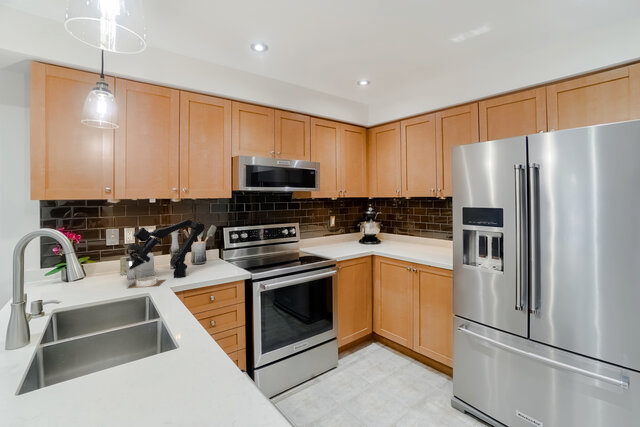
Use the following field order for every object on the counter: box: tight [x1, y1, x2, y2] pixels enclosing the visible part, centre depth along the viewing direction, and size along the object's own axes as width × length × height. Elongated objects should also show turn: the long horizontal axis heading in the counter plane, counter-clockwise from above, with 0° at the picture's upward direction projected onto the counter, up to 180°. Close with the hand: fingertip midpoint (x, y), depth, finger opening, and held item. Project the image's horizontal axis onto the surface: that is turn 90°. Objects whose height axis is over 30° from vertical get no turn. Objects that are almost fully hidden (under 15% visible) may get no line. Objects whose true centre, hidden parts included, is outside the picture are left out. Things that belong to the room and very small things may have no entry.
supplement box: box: [136, 252, 155, 278], centre depth 197 cm, size 9×9×15 cm
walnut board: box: [126, 279, 167, 289], centre depth 174 cm, size 17×15×1 cm
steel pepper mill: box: [126, 256, 138, 281], centre depth 168 cm, size 5×5×12 cm
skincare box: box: [119, 256, 130, 276], centre depth 202 cm, size 6×4×12 cm
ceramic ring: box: [134, 276, 159, 288], centre depth 174 cm, size 11×11×3 cm
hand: (128, 268), depth 167 cm, fingers closed on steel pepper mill, 5 cm apart
